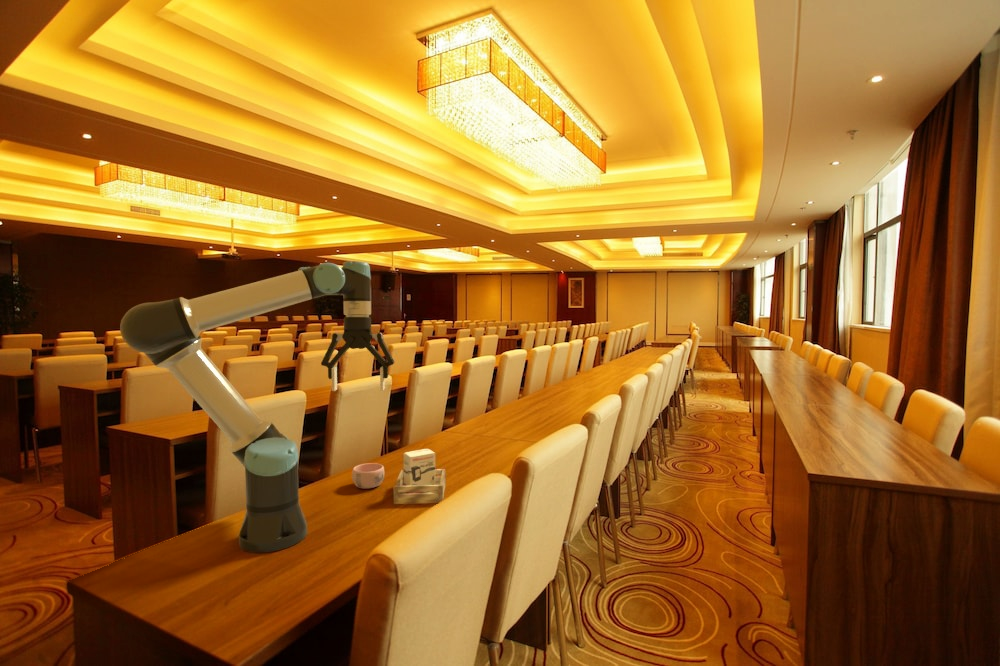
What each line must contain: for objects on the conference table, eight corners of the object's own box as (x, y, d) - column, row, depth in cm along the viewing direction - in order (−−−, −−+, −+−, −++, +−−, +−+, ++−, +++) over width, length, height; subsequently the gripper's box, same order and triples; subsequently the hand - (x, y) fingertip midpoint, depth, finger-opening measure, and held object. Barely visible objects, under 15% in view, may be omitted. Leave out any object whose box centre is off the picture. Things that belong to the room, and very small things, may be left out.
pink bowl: (373, 493, 150) (373, 474, 150) (345, 489, 153) (345, 470, 153) (393, 480, 162) (393, 462, 161) (367, 477, 165) (366, 459, 164)
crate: (393, 504, 142) (393, 486, 141) (401, 485, 157) (401, 469, 156) (442, 502, 142) (442, 485, 142) (445, 484, 157) (445, 468, 157)
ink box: (409, 496, 145) (409, 456, 144) (403, 490, 149) (402, 452, 149) (436, 490, 150) (435, 451, 149) (429, 485, 154) (428, 448, 153)
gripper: (308, 316, 136) (310, 392, 137) (399, 316, 138) (400, 391, 139) (317, 316, 144) (318, 388, 145) (403, 315, 145) (404, 387, 146)
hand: (358, 390), depth 142 cm, fingers open, 13 cm apart
